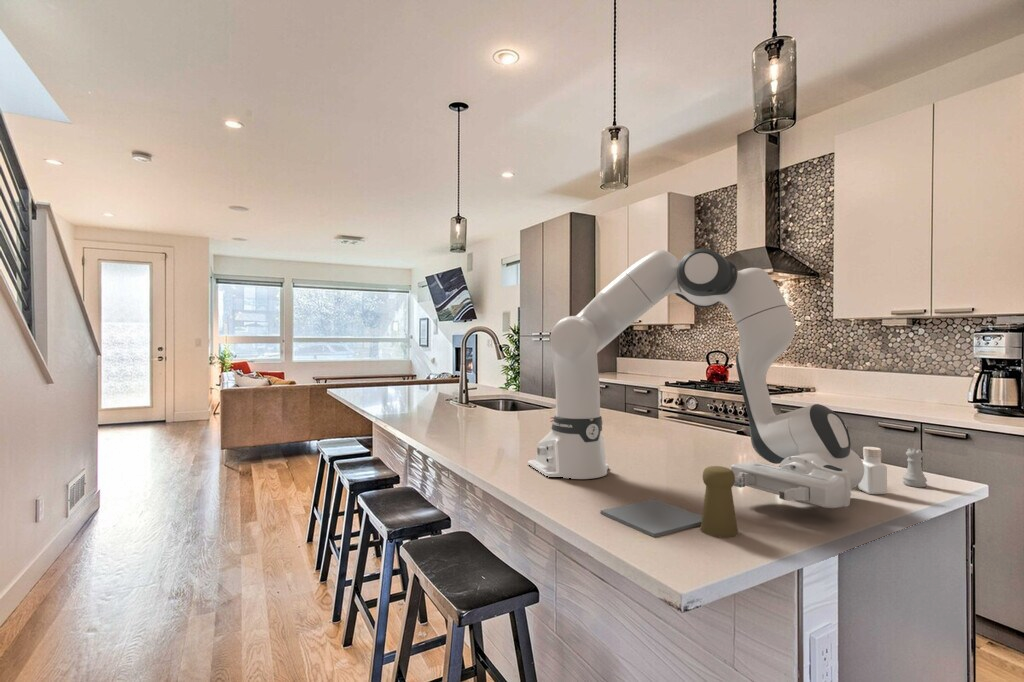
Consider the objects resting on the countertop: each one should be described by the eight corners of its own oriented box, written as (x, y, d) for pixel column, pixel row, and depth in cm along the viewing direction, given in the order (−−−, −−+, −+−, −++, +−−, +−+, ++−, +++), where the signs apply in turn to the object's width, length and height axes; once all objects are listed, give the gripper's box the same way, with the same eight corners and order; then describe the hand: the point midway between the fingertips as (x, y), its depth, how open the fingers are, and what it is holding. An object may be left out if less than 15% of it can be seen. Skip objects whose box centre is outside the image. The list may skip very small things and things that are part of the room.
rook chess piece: (900, 485, 116) (899, 449, 116) (905, 481, 119) (904, 446, 119) (925, 489, 113) (925, 452, 113) (929, 485, 116) (929, 449, 116)
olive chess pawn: (694, 525, 92) (694, 463, 92) (727, 524, 92) (726, 462, 92) (709, 538, 86) (709, 472, 86) (745, 537, 86) (744, 471, 86)
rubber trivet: (600, 513, 98) (600, 510, 98) (654, 501, 105) (654, 498, 105) (654, 537, 86) (654, 533, 86) (711, 522, 93) (711, 519, 93)
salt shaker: (888, 495, 109) (888, 449, 109) (869, 495, 109) (869, 450, 109) (875, 489, 113) (874, 446, 113) (857, 489, 113) (856, 446, 113)
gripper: (754, 452, 109) (710, 459, 103) (858, 473, 92) (813, 484, 85) (755, 481, 109) (710, 491, 103) (859, 508, 92) (814, 522, 85)
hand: (758, 488), depth 94 cm, fingers open, 8 cm apart
